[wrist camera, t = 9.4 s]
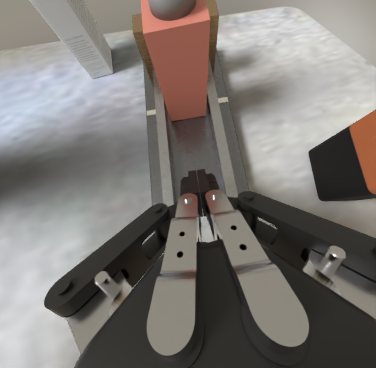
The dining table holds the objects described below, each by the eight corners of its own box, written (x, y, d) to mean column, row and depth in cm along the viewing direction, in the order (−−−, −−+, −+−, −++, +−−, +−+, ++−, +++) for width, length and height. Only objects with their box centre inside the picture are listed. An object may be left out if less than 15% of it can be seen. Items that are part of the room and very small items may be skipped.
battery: (340, 149, 19) (488, 77, 9) (355, 200, 17) (552, 179, 8) (305, 151, 19) (412, 83, 10) (316, 201, 18) (457, 182, 8)
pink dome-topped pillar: (205, 115, 20) (211, -6, 9) (170, 121, 20) (135, 11, 9) (200, 87, 21) (200, -51, 10) (167, 92, 21) (133, -35, 11)
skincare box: (90, 55, 27) (6, -66, 16) (111, 49, 27) (43, -78, 15) (91, 80, 26) (0, -34, 14) (114, 74, 25) (41, -46, 14)
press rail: (247, 202, 18) (277, 192, 11) (156, 214, 19) (128, 212, 12) (214, 51, 25) (219, -18, 17) (146, 65, 25) (123, 3, 18)
